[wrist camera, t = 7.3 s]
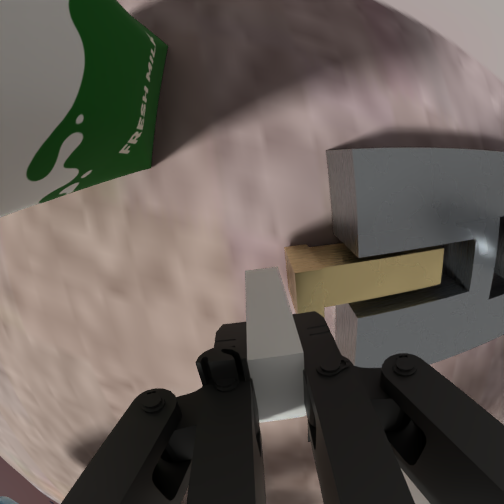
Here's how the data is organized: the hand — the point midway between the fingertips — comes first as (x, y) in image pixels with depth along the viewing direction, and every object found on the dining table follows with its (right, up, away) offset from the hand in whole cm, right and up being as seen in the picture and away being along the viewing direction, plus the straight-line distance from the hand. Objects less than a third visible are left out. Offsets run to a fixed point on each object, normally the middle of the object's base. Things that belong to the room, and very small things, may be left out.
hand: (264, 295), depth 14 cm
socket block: (+12, +3, +2) cm, 12 cm away
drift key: (+5, +2, +2) cm, 6 cm away
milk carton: (-9, +10, -1) cm, 14 cm away
